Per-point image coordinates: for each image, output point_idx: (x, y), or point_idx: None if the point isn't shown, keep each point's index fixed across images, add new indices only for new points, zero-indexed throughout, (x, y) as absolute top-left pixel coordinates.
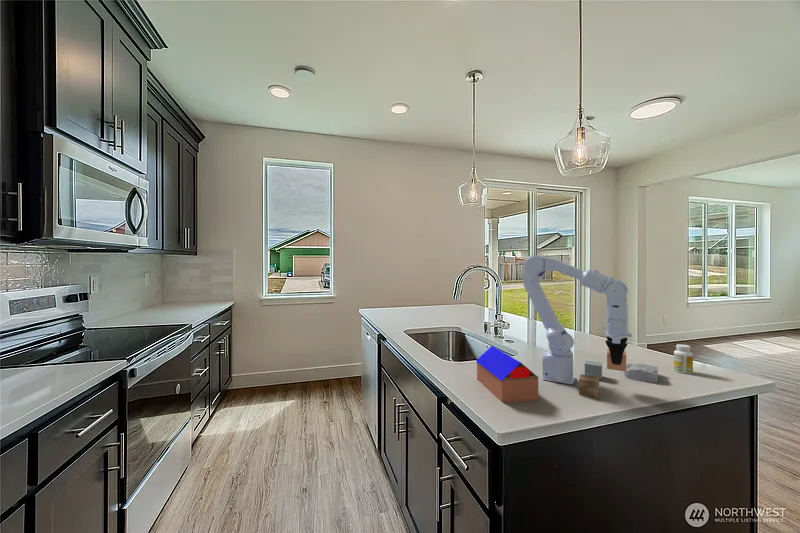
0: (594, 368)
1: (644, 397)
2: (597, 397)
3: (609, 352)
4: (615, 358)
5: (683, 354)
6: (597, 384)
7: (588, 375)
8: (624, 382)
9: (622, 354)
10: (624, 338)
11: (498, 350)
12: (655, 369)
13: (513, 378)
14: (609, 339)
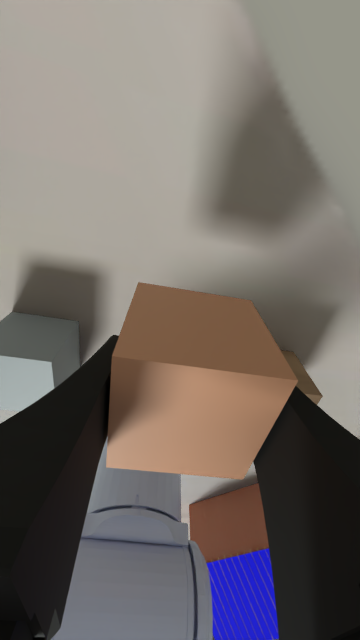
0: (61, 373)
1: (241, 182)
2: (294, 355)
3: (220, 467)
4: None
5: None
6: (316, 388)
7: None
8: (46, 231)
9: (336, 422)
10: (7, 597)
11: (266, 637)
12: None
13: (224, 508)
14: (61, 600)
